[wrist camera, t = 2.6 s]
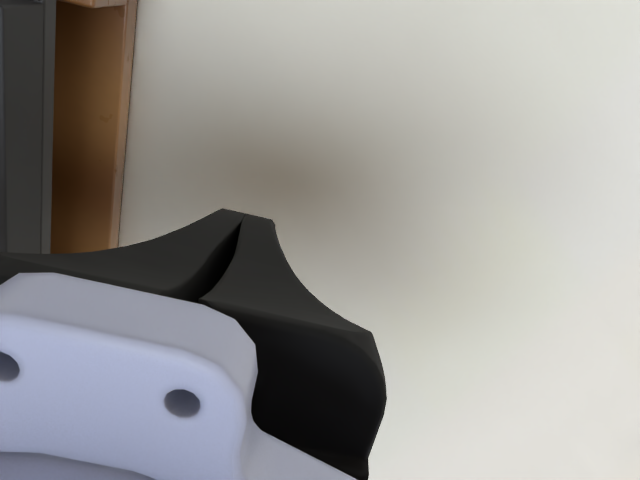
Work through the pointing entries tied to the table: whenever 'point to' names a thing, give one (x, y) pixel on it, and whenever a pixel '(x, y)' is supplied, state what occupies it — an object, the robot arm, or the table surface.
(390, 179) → the table surface
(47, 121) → the lid
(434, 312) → the table surface
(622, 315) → the table surface
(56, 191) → the brown wooden shelf
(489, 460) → the table surface
